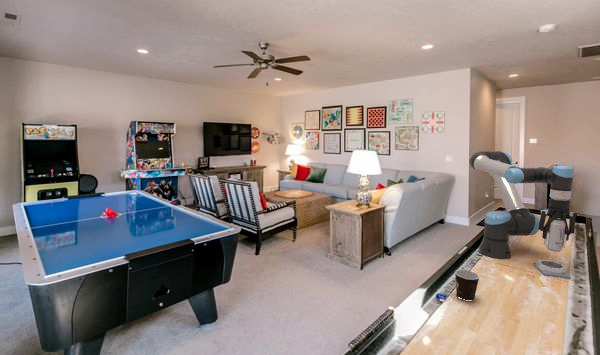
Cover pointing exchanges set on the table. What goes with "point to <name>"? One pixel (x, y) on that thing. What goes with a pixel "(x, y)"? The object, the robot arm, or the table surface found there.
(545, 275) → the slate plate
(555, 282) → the table surface
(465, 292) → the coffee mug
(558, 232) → the energy drink can
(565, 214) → the robot arm
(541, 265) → the steel collar
